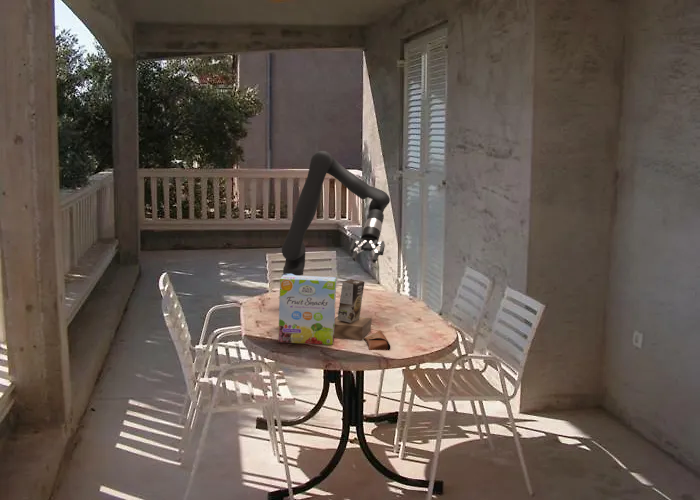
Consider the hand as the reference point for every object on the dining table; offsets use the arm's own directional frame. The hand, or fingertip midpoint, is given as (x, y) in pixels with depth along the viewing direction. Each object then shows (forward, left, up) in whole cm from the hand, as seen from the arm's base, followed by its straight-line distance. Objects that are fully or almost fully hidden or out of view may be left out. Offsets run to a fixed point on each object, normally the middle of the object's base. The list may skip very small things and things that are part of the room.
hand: (364, 260), depth 334 cm
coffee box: (-2, -14, -23) cm, 27 cm away
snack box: (-13, -32, -29) cm, 45 cm away
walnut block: (-1, -14, -29) cm, 32 cm away
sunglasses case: (+13, -25, -29) cm, 41 cm away
